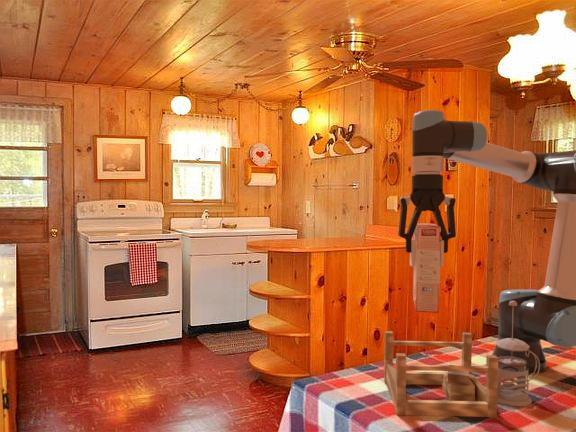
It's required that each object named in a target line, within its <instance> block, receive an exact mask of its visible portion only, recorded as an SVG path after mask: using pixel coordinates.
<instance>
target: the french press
mask: <svg viewBox="0 0 576 432" xmlns="http://www.w3.org/2000/svg"><path fill="white" fill-rule="evenodd" d="M509 305H511V306H513V307H514V306H517V303H516V301H510V302H509ZM497 340H498V339H497ZM494 345H495V346H497V347H498V348H501V349H504V350H509V351H525V355H526V356H528V357H529V353H532V354H533V355H534V357H535V356H536V355H535V354H534V353H533V352H531V351H530V350H528V349H529V348H530V346H529V345H528V344H526V343H525V342H523V341H521V340H518V339H515V338H513V315H512V338H505V339H501V340H498V341H495V342H494ZM526 351H530V352H528V355H527V354H526ZM536 357H537V356H536ZM536 357H535V360H536ZM537 359H538V357H537ZM538 362H539V368H538V372H537V373H535V371H536V368H537V360H536V367H535V370H534V372H533V373H530V375H529V373H528V368H527V371H526V366H525V365H526V364H527V362H526V360H524V359H521V358H516V357H512V356H511V357H509V356H500V357H498V389H497V403H500V404H503V405H506V406H513V407H526V406H529V405H532V403H533V401H532V399H531V398H530V396H529V384H530V383H529V382H530V381H531V380H533V379H535V378H536V377H537V376H538V375H539V374H540V373H539V370H540V361H539V359H538ZM505 366H512V367H515V368H517V369H518V371H516V370H514V369H511V368H507V369H501V368H503V367H505ZM534 374H536V375H534ZM533 375H534V376H533ZM532 376H533V377H532ZM530 377H531V378H530Z"/></svg>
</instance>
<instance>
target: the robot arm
mask: <svg viewBox="0 0 576 432" xmlns="http://www.w3.org/2000/svg"><path fill="white" fill-rule="evenodd" d="M412 119H413V120H412V127H411V134H412V135H411V136H412V140H411V141H412V143H411V145H412V147H411V148H412V150H411V151H412V157H411V159H412V161H411V172H412V174H413V173H414V174H413V175H412V176H411V193H410V195H408V196H405V197H400V198H399V200H398V201H399V205H400V211H399V212H400V213H399V214H400V215H399V222H398V223H399V224H398V234H397V235H398V237H400V238H402V239H404V240H405V252H406V253H408V254H409V266H410V267H414V266H415V240H414V239H412V238H414V237H413V236H414V231H415V228H416V225H417V224H418V222H419V219H420V216H421V215H422V213H423V212H426V211H427V212H428V211H429V212H432V215H433V217H434V220H435V224H436V225H438V226H439V227H441V240H440V268H442V267H443V268H444V267H445V265H444V264H445V263H444V258H445V256H444V255H445V254H446V253H448V251H449V240H450V239H453V238H456V237H457V234H456V233H457V231H456V218H455V217H456V216H455V204H456V198H455V197H449V196H446V195H445V193H444V175H443V174H441V173H443V172H444V159H447V160H450V161H453V162H456V163H457V162H458V163H461V164H465V165H467V166H471V167H475V168H479V169H483V170H486V171H488V172H489V171H490V172H493V173H496V174H499V175H500V174H501V175H504V176H507V177H511V178H512V179H513V181H514V182H516V183H520V184H523V185H526V186H529V187H533V188H535V189H539V190H542V191H547V192H552V196H553V199H555V200H556V202H557V204H556V212H555V217H554V224H553V229H552V230H553V231H552V234H551V235H552V236H551V242H550V248H549V249H550V250H549V255H548V261H547V267H546V273H545V280H544V284H543V287H541V288H540V289H528V288H527V289H525V288H524V289H505V290H502V291H501V292H500V294H499V299H498V335H497V336H498V338H497V341H498V340H501V339H505V338H512V315H513V338H515V339H518V340H521V341H523V342H525V343H526V344H528V345H529V346H530V348H529V349H528V350H530V351H531V352H533V353H534V354H535V355H536V356H537V357H538V359H539V361H540V370H539V373H538V374H541V373H544V372H546V371H547V358H546V356H545V353H544V349H543V346H542V343H541V340H542V341H545V342H547V343H549V344H551V345H553V346H559V347H562V348H573V347H576V149H575V150H565V151H554V152H533V151H530V150H523V151H517V150H514V149H511V148H507V147H504V146H500V145H498V144H494V143H491V142H488V131H487V127H486V126H485V125H484V124H483V123H482V122H479V121H476V122H475V121H472V120H470V121H463V120H462V121H461V120H446V119H445V113H444V112H443V111H441V110H436V109H432V110H431V109H430V110H420V111H417V112H415V113H414V114H413V117H412ZM410 202H411V203H412V205H414V210H413V213H412V217H411V219H410V222H409V225H408V228H407V230H406V225H407V217H408V215H407V214H408V206H409V205H410ZM443 202H444V205H445V207H446V220H447V229H446V226H445V222H444V220H443V217H442V214H441V212H442V211H441V209H440V206H441V204H442V203H443ZM406 231H407V232H406ZM447 231H448V232H447ZM510 301H516V303H517V306H514V307H513V306H511V305H509V302H510ZM530 351H526V354H527V355H528V352H530ZM491 355H495V356H497V357H500V356H509V357H511V356H512V357H516V358H521V359H524V360H526V362H527V364H526V365H525V366H526V371H527V368H528V374H532V373H533V372H534V370H535V367H536V360H537V368H536V371H535V373H534V374H537V372H538V368H539V362H538V359H537V357H536V356H535V357H536V360H535V357H534V355H533V354H532V353H529V357H528V356H526V355H525V351H509V350H504V349H501V348H498V347H497V346H496V345H495V346H494V348H493V352H492V353H491ZM507 368H511V369H514V370H516V371H518V369H517V368H515V367H512V366H505V367H503V368H501V369H503V370H504V369H507Z"/></svg>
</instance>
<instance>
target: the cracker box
mask: <svg viewBox="0 0 576 432" xmlns="http://www.w3.org/2000/svg"><path fill="white" fill-rule="evenodd" d="M413 236H414V237H413V238H414V239H413V240H415V266H413V291H412V292H413V294H412V296H413V297H412V298H413V299H412V300H413V305H414V310H415V312H416V313H432V314H433V313H435V314H437V313H440V290H441V289H440V285H441V284H440V283H441V282H440V281H441V280H440V279H441V276H440V275H441V267H440V240H442V238H441V227H439V226H438V225H437V223H417V225H416V228H415V231H414V234H413Z"/></svg>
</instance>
